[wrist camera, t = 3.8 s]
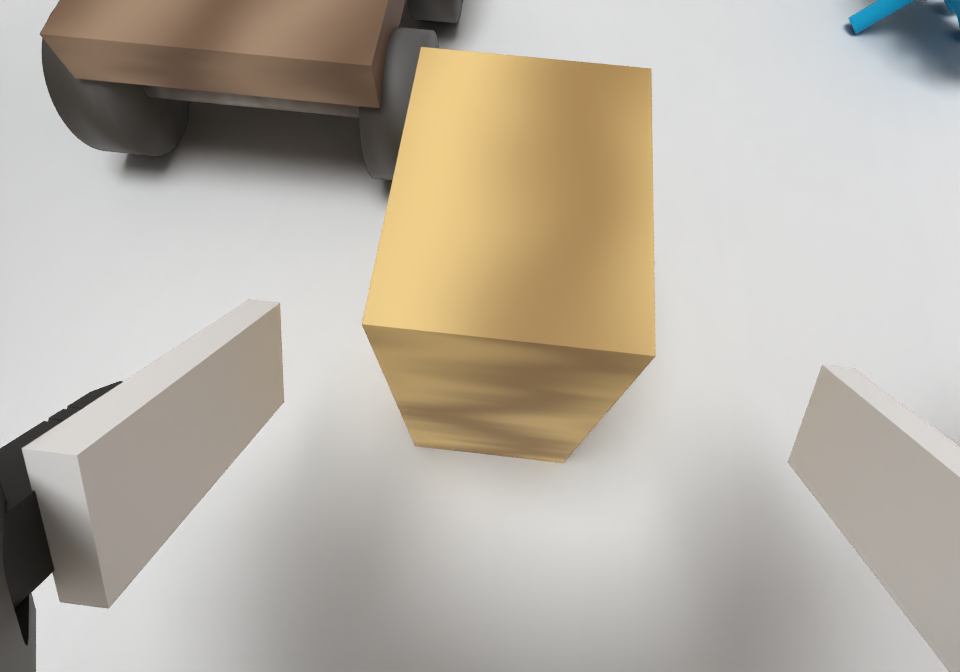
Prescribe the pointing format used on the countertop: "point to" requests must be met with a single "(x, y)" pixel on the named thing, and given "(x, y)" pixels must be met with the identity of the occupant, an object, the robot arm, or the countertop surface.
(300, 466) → the countertop surface
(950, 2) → the gear
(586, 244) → the block
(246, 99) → the trolley
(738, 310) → the countertop surface
